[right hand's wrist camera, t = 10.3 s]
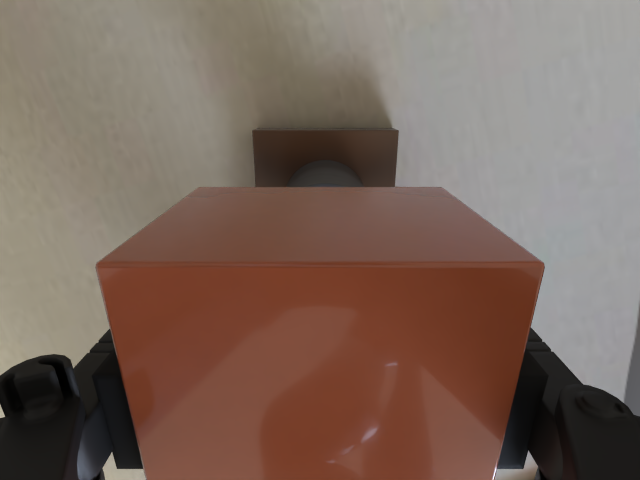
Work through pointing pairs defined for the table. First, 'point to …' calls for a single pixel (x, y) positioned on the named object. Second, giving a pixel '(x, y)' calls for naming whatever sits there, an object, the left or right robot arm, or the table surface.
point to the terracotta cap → (320, 334)
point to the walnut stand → (325, 157)
